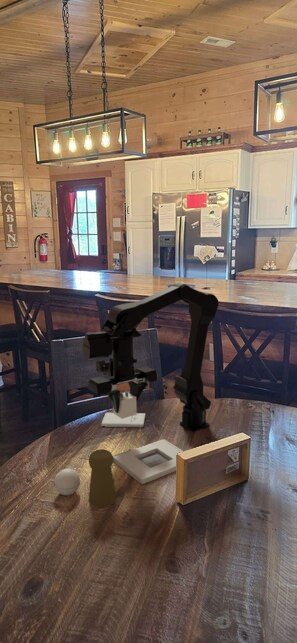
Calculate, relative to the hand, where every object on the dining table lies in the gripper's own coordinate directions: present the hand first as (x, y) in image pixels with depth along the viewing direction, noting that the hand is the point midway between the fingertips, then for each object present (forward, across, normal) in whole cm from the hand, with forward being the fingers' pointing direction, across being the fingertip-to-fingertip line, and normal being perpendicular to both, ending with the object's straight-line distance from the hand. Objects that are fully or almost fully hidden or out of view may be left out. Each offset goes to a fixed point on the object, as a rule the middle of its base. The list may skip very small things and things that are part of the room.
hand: (124, 410), depth 120 cm
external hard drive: (+10, -7, -12) cm, 17 cm away
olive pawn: (+10, +18, +19) cm, 28 cm away
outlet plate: (+10, 0, +13) cm, 16 cm away
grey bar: (+10, +6, +6) cm, 13 cm away
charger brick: (+1, 0, 0) cm, 1 cm away
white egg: (+10, +24, +13) cm, 29 cm away
